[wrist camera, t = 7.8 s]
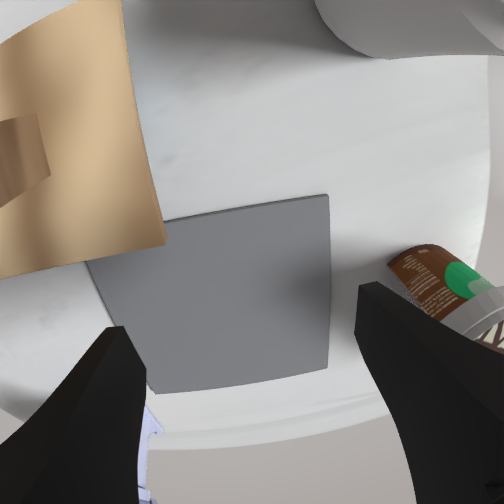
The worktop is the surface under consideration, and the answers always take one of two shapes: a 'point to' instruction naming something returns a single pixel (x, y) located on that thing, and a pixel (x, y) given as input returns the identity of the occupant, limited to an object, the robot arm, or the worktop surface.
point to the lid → (72, 144)
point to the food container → (453, 293)
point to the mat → (227, 296)
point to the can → (417, 26)
